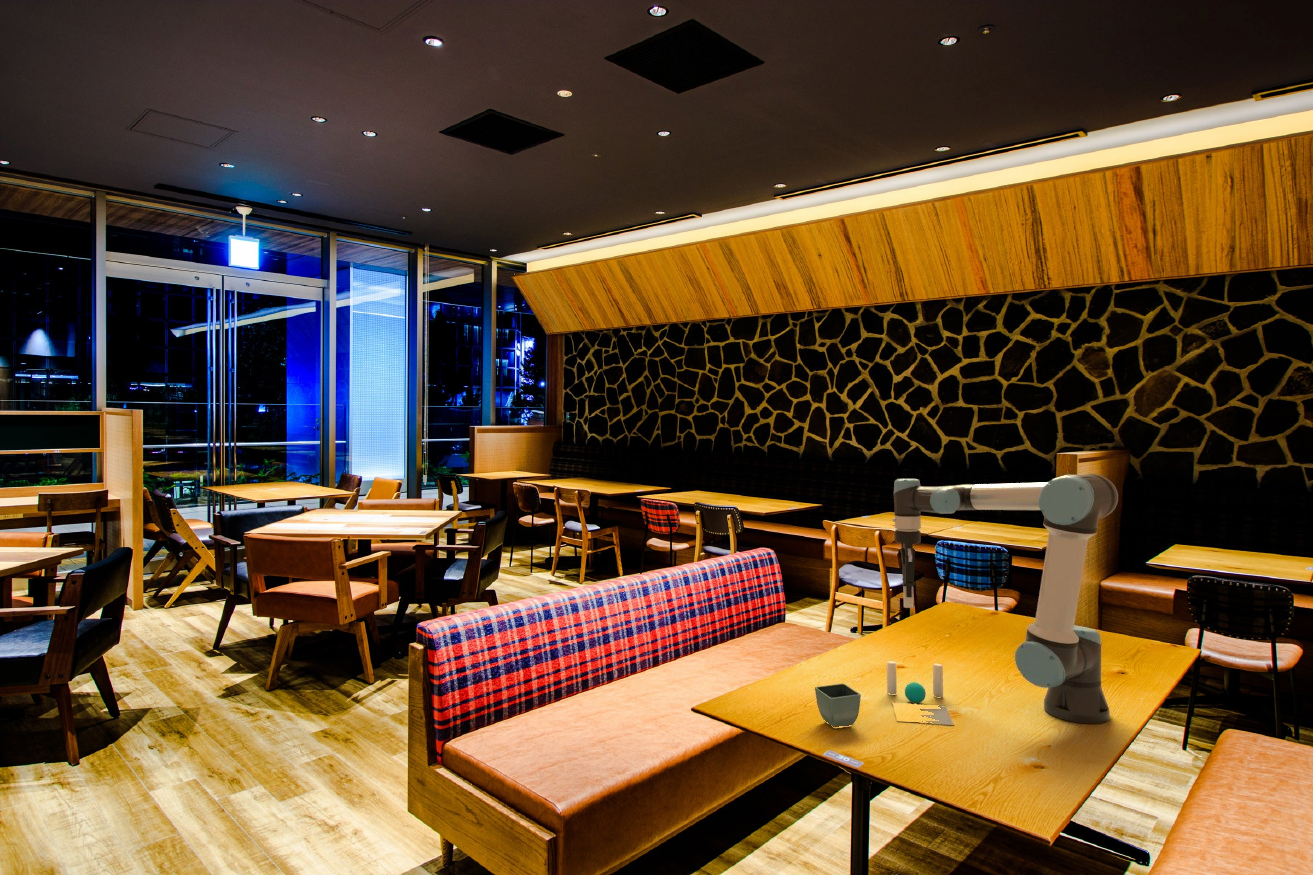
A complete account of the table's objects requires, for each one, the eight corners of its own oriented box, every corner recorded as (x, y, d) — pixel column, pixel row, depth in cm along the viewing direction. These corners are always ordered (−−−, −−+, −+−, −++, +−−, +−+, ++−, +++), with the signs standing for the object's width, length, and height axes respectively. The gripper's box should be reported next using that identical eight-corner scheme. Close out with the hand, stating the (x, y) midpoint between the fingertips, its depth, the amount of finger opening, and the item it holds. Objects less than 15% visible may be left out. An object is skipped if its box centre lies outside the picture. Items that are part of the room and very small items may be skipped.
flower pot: (831, 733, 181) (830, 698, 181) (814, 720, 189) (813, 686, 189) (862, 729, 183) (861, 694, 183) (844, 716, 192) (843, 682, 192)
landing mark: (954, 725, 185) (954, 724, 185) (896, 721, 188) (896, 720, 188) (944, 705, 199) (944, 705, 199) (891, 702, 202) (891, 701, 202)
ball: (925, 701, 203) (927, 705, 198) (904, 700, 204) (906, 704, 199) (923, 681, 204) (925, 684, 198) (903, 680, 205) (904, 683, 200)
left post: (897, 695, 207) (896, 664, 207) (887, 694, 207) (887, 663, 207) (896, 692, 209) (895, 661, 209) (886, 691, 210) (886, 660, 210)
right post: (943, 698, 204) (943, 666, 204) (934, 697, 205) (933, 666, 205) (942, 695, 206) (941, 663, 206) (932, 694, 207) (932, 663, 207)
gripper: (892, 526, 227) (893, 601, 227) (896, 532, 214) (897, 611, 214) (917, 527, 225) (918, 602, 225) (923, 532, 212) (924, 612, 212)
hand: (908, 607), depth 220 cm, fingers closed
